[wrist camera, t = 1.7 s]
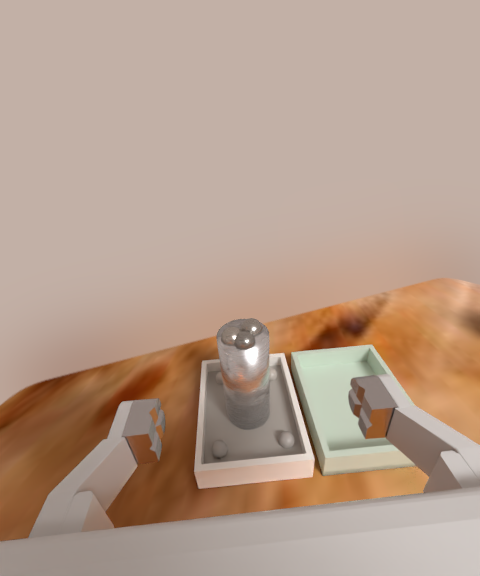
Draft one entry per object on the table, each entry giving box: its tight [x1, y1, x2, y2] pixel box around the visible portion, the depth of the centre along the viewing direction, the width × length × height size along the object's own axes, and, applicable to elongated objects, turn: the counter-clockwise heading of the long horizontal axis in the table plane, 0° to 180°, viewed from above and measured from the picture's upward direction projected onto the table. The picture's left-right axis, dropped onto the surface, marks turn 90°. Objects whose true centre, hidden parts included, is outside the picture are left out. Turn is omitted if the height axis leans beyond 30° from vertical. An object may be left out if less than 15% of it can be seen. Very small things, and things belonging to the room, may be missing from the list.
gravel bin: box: [194, 353, 315, 489], centre depth 32 cm, size 11×14×3 cm
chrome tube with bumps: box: [217, 318, 270, 430], centre depth 29 cm, size 5×5×12 cm
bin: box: [291, 345, 416, 476], centre depth 33 cm, size 11×14×3 cm
